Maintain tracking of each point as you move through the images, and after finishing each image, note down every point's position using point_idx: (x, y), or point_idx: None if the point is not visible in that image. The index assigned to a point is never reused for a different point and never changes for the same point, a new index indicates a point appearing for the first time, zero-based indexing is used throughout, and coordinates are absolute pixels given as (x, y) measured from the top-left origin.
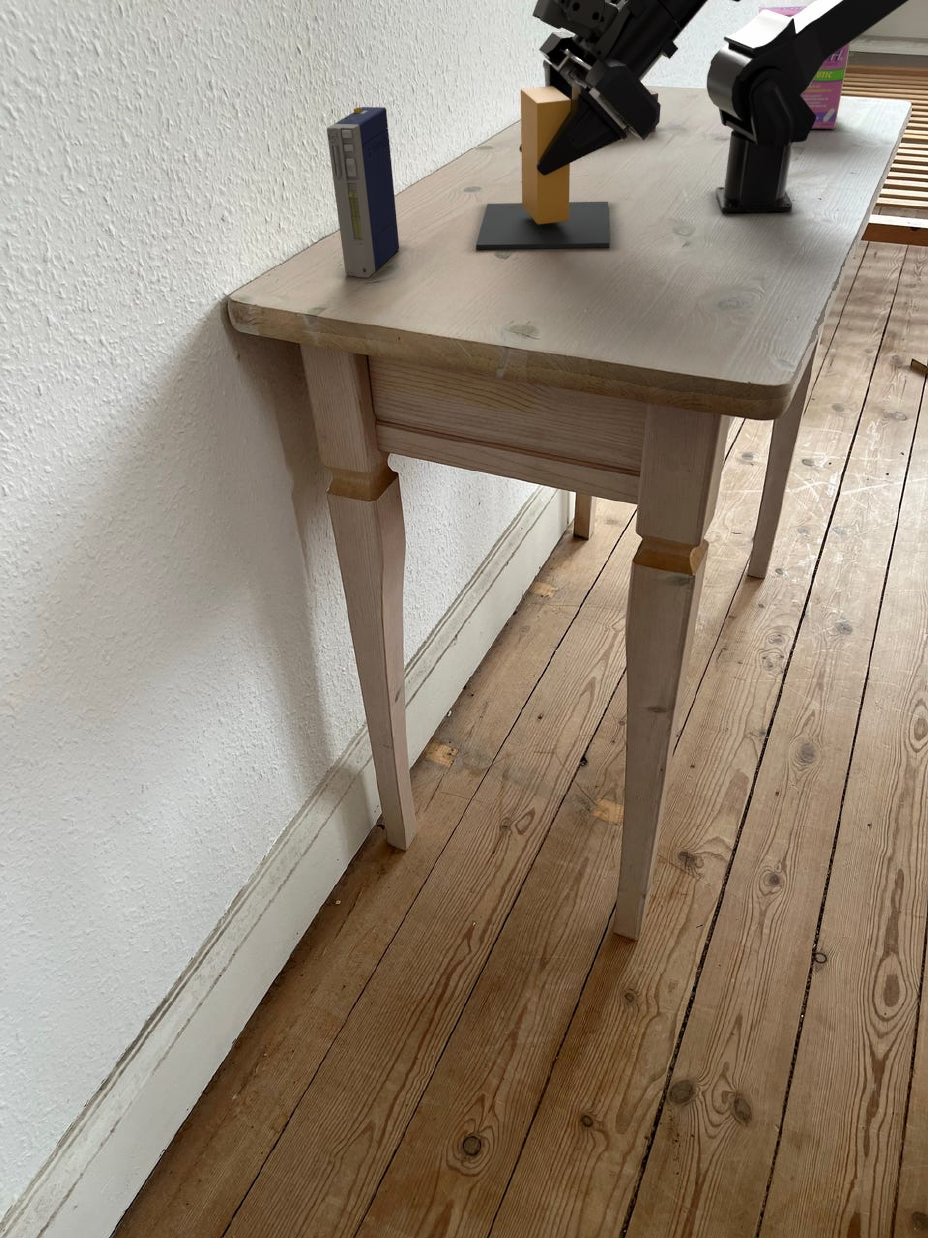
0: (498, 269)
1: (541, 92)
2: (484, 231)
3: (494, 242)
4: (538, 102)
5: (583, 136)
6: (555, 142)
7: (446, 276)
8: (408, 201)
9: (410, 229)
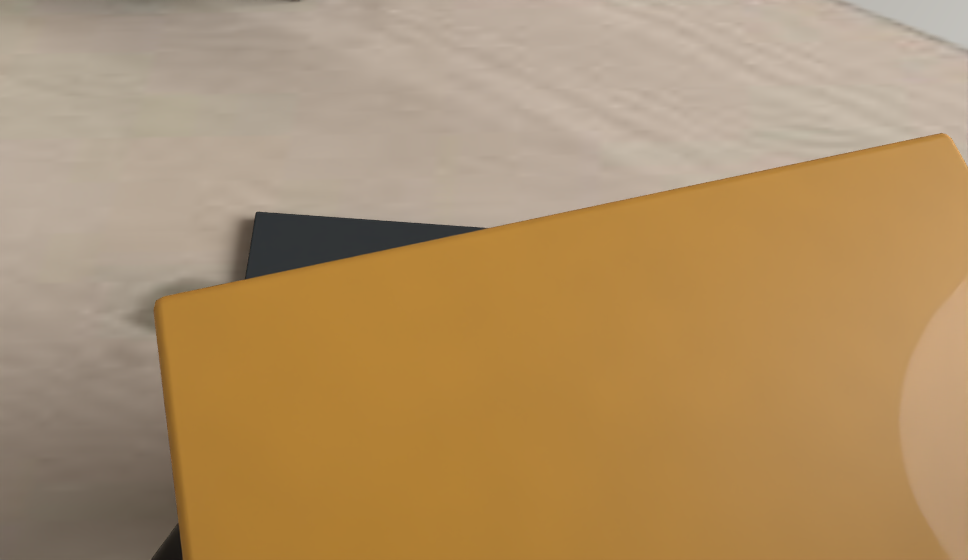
0: (29, 295)
1: (782, 361)
2: (395, 237)
3: (269, 273)
4: (176, 314)
5: None
6: (166, 540)
7: (12, 131)
8: (750, 18)
9: (487, 27)
